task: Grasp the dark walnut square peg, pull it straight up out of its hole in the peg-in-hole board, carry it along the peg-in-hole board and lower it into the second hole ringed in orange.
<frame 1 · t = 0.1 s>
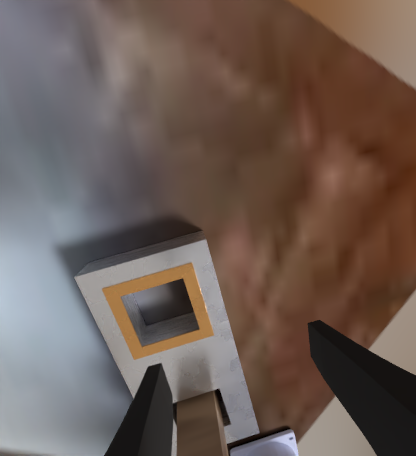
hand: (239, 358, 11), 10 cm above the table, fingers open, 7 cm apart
walnut peg: (198, 389, 24), resting in peg-in-hole board
peg-in-hole board: (182, 346, 22), on the table
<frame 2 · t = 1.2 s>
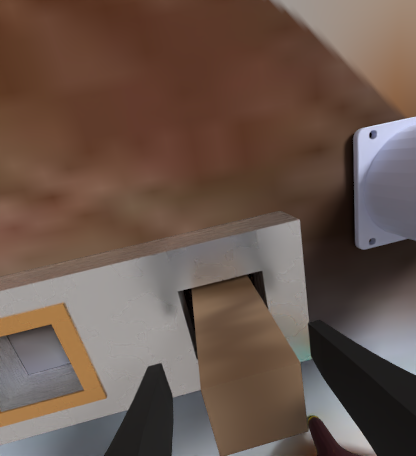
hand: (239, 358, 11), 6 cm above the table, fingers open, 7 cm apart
walnut peg: (220, 293, 16), resting in peg-in-hole board
peg-in-hole board: (137, 315, 16), on the table
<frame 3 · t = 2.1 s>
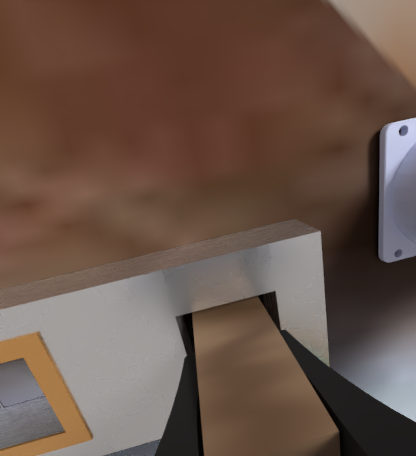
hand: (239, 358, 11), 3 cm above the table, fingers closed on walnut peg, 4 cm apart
walnut peg: (225, 313, 14), resting in peg-in-hole board, touching gripper
peg-in-hole board: (129, 338, 14), on the table
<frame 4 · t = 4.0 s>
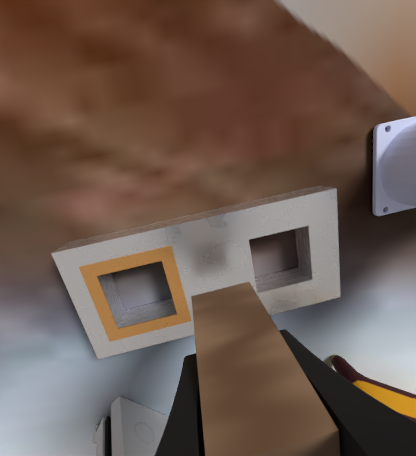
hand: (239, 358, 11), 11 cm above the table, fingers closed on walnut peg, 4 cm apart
decorative lantern: (345, 418, 29), on the table
walnut peg: (225, 313, 14), point 7 cm above the table, touching gripper
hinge: (176, 425, 26), on the table
peg-in-hole board: (208, 264, 21), on the table
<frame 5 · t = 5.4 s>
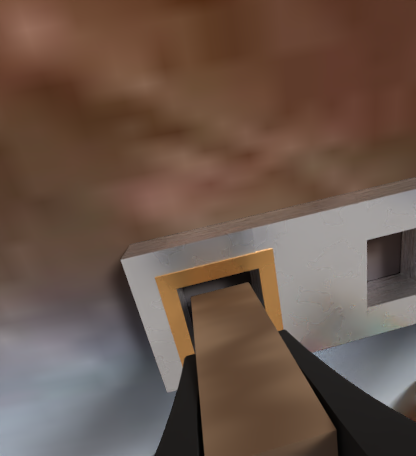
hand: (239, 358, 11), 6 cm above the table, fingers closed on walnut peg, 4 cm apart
walnut peg: (225, 314, 14), point 2 cm above the table, touching gripper
peg-in-hole board: (296, 271, 17), on the table
when the fingers open (5 cm above the table, at t = 6.1 s): walnut peg drops 1 cm, resting in peg-in-hole board.
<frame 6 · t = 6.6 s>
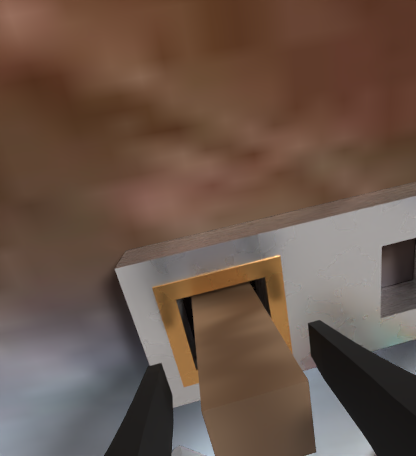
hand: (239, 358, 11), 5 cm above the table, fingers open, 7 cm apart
walnut peg: (221, 300, 15), resting in peg-in-hole board
peg-in-hole board: (304, 278, 16), on the table
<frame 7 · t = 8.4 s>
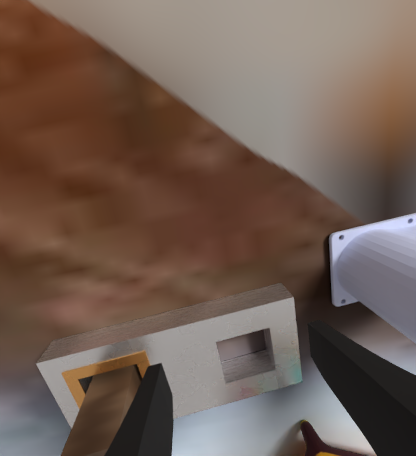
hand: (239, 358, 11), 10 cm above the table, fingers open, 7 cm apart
walnut peg: (124, 368, 22), resting in peg-in-hole board
peg-in-hole board: (182, 351, 23), on the table
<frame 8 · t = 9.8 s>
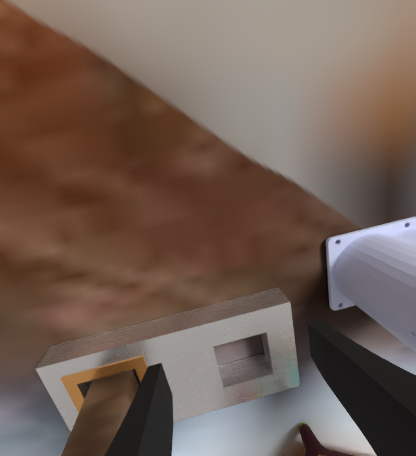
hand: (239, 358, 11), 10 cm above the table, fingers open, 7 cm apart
walnut peg: (123, 372, 23), resting in peg-in-hole board
peg-in-hole board: (181, 356, 23), on the table
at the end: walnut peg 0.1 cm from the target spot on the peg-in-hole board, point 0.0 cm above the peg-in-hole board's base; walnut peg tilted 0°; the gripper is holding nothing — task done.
